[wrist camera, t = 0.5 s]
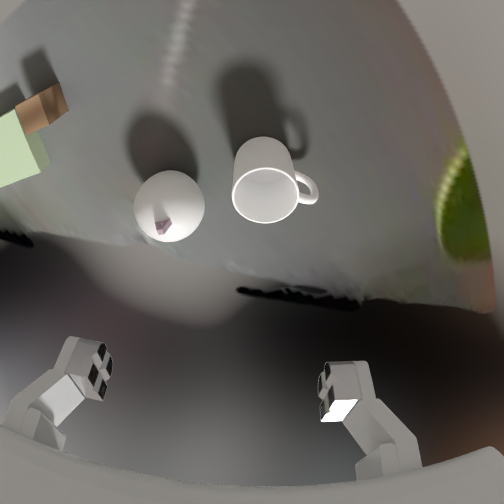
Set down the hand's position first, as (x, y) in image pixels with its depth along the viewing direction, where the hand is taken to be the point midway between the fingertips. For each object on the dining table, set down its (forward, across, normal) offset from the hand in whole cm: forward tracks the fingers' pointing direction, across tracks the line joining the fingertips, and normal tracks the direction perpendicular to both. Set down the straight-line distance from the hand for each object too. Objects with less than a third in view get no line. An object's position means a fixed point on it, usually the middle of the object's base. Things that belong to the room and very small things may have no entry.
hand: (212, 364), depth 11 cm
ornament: (+39, +11, +12) cm, 42 cm away
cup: (+39, -5, +7) cm, 40 cm away
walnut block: (+36, +30, -4) cm, 48 cm away
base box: (+37, +40, +2) cm, 55 cm away
